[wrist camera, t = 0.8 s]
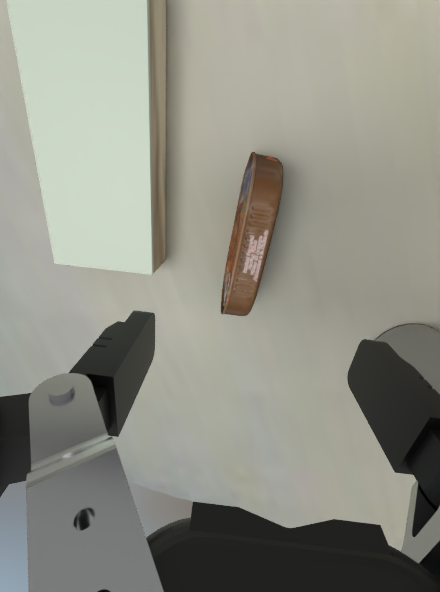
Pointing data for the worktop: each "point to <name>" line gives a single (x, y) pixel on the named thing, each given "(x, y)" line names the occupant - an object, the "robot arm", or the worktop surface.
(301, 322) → the worktop surface
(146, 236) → the plinth
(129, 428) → the worktop surface
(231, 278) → the tin
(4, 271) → the worktop surface
